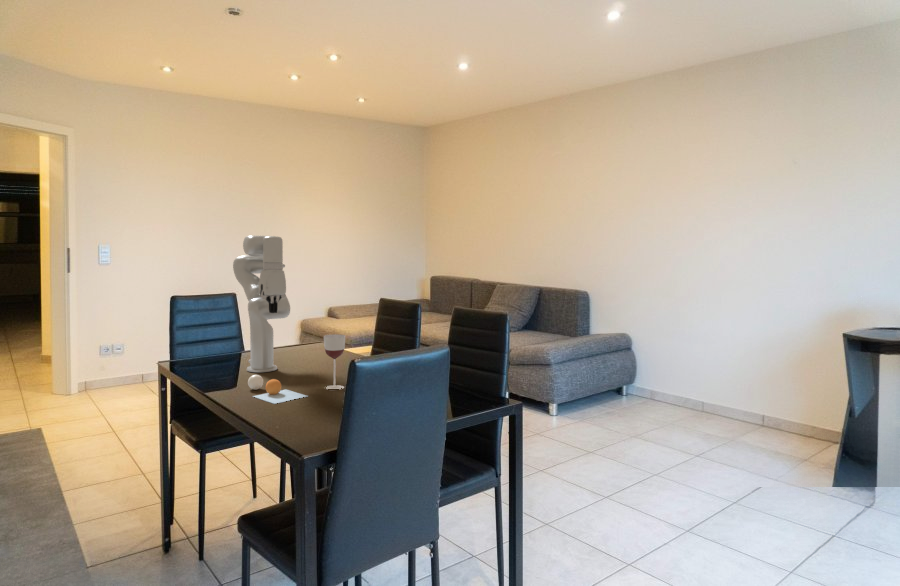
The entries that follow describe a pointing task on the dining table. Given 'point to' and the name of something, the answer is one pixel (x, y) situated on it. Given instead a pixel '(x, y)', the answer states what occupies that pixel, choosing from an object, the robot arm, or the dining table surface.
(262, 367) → the robot arm
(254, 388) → the cue ball
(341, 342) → the wineglass
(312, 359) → the dining table surface
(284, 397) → the blue mark
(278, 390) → the orange ball
